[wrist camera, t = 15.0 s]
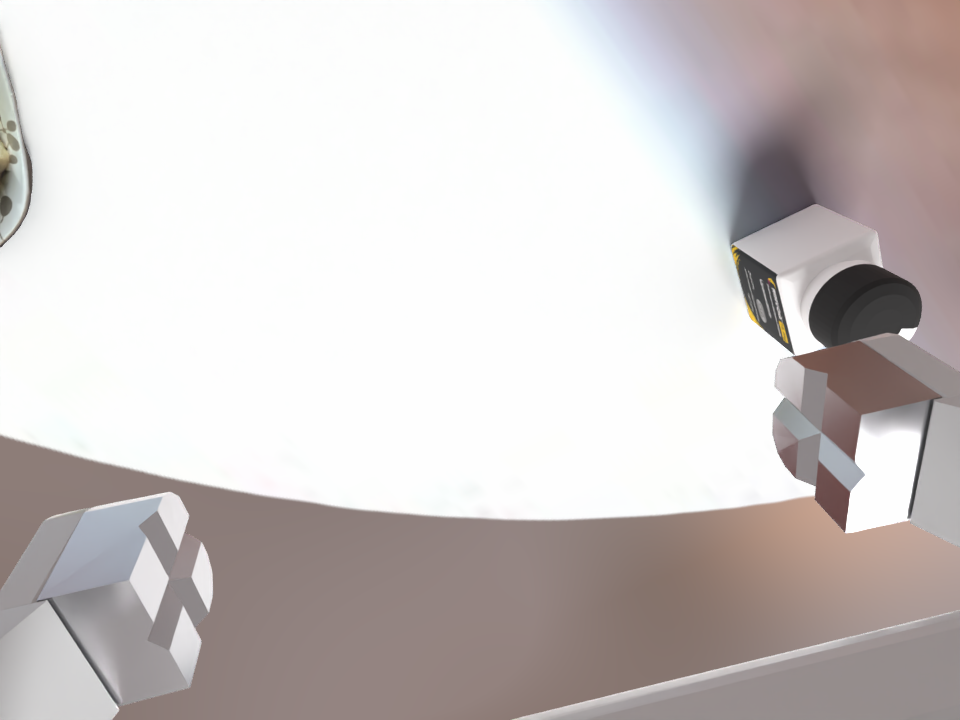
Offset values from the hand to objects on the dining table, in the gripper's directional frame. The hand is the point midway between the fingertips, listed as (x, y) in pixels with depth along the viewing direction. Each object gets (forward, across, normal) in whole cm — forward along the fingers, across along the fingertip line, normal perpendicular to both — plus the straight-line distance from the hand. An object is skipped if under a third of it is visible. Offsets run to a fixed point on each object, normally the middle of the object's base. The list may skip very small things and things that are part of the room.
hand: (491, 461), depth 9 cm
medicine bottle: (+39, -27, +17) cm, 51 cm away
